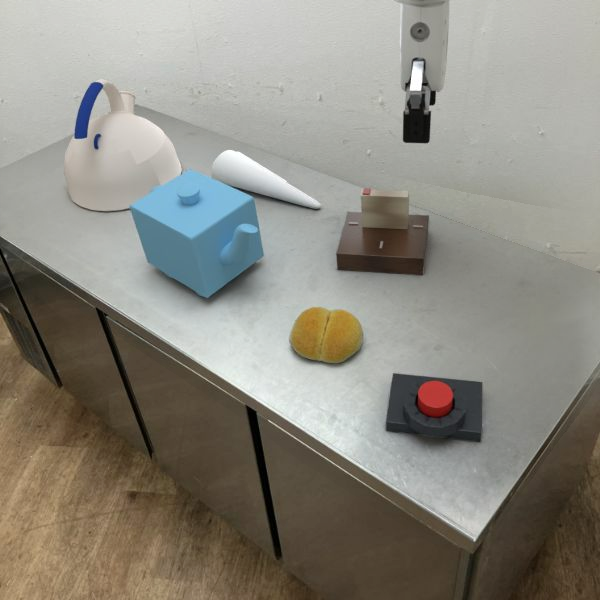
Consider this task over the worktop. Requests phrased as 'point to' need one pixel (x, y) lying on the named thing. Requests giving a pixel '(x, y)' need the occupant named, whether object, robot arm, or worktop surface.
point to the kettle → (116, 153)
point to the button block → (410, 420)
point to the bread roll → (326, 335)
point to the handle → (385, 208)
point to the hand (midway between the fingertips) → (419, 122)
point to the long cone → (256, 179)
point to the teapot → (198, 231)
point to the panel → (383, 246)
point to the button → (435, 399)
